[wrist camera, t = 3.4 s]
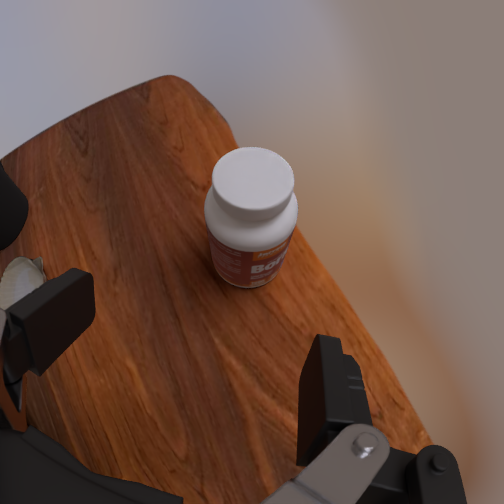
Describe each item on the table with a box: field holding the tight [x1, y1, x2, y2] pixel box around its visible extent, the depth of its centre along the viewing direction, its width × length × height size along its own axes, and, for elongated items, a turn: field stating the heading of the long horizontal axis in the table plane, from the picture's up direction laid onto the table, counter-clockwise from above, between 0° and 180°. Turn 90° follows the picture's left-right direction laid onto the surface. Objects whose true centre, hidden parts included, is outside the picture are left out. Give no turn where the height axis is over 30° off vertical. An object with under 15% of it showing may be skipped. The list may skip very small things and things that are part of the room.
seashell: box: [0, 256, 47, 310], centre depth 22 cm, size 8×3×8 cm
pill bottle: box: [204, 147, 298, 288], centre depth 21 cm, size 6×6×11 cm
